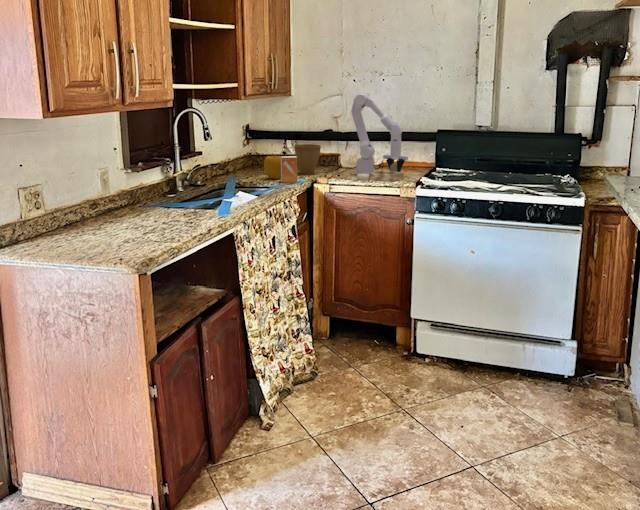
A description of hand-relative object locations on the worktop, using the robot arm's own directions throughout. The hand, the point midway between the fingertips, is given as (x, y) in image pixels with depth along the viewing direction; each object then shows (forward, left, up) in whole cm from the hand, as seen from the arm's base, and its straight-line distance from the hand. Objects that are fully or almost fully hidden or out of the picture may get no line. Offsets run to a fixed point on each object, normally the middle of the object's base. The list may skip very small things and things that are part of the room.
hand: (395, 172), depth 349 cm
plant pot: (-45, -20, -2) cm, 49 cm away
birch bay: (+3, -15, -2) cm, 15 cm away
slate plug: (0, 0, -2) cm, 2 cm away
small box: (-35, -50, -2) cm, 61 cm away
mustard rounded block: (-48, -46, -2) cm, 67 cm away
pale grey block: (-7, -22, -2) cm, 23 cm away
